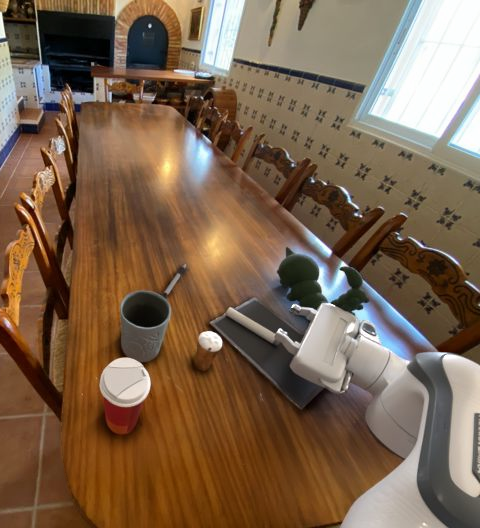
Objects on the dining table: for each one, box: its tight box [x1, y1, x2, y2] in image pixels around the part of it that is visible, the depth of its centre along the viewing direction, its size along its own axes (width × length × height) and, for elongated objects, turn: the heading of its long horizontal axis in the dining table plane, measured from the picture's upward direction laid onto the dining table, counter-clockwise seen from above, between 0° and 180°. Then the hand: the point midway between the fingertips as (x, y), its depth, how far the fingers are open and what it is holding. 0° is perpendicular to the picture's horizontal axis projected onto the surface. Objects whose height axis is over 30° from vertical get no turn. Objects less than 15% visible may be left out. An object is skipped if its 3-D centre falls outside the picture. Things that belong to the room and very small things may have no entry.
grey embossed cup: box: [119, 290, 172, 363], centre depth 62 cm, size 10×10×12 cm
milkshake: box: [193, 330, 223, 372], centre depth 59 cm, size 4×5×10 cm
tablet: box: [208, 296, 325, 412], centre depth 67 cm, size 24×17×1 cm
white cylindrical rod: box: [224, 306, 280, 347], centre depth 69 cm, size 2×2×13 cm
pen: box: [161, 263, 187, 299], centre depth 82 cm, size 1×16×1 cm, turn 151°
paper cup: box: [98, 357, 151, 435], centre depth 49 cm, size 8×8×14 cm
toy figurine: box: [276, 246, 371, 324], centre depth 73 cm, size 9×19×25 cm
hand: (283, 319), depth 63 cm, fingers open, 8 cm apart
